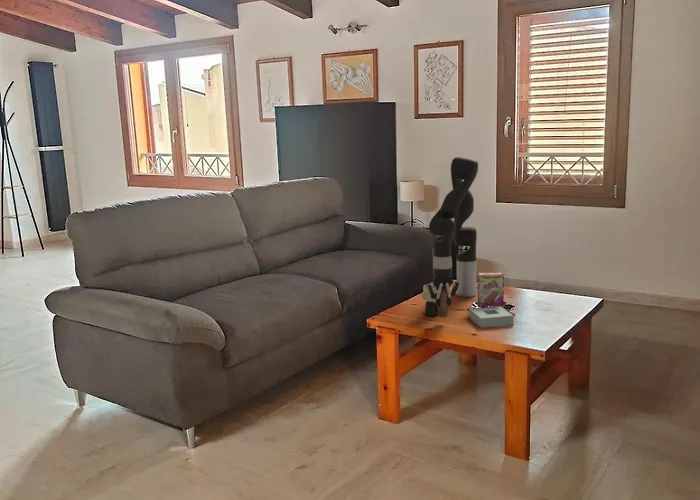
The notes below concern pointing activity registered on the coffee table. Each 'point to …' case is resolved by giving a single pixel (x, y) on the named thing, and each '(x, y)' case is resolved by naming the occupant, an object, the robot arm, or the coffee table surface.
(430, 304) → the character mug
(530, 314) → the coffee table surface
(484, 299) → the candy bar box
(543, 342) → the coffee table surface
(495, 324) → the socket
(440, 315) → the peg
